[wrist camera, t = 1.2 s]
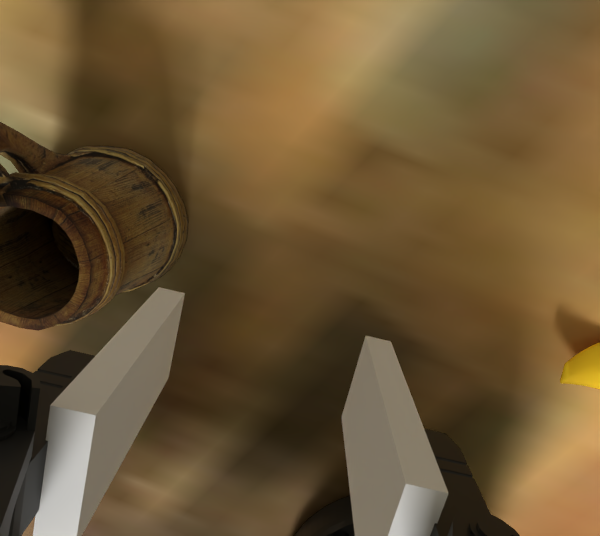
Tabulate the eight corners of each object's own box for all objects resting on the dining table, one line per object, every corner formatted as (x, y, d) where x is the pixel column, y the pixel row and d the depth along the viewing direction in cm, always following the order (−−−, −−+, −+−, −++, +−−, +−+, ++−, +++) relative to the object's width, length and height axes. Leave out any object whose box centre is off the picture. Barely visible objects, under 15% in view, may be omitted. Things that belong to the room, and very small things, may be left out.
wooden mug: (119, 49, 31) (-124, -47, 14) (208, 261, 34) (105, 403, 17) (-16, 104, 32) (-405, 81, 14) (84, 306, 35) (-136, 484, 18)
